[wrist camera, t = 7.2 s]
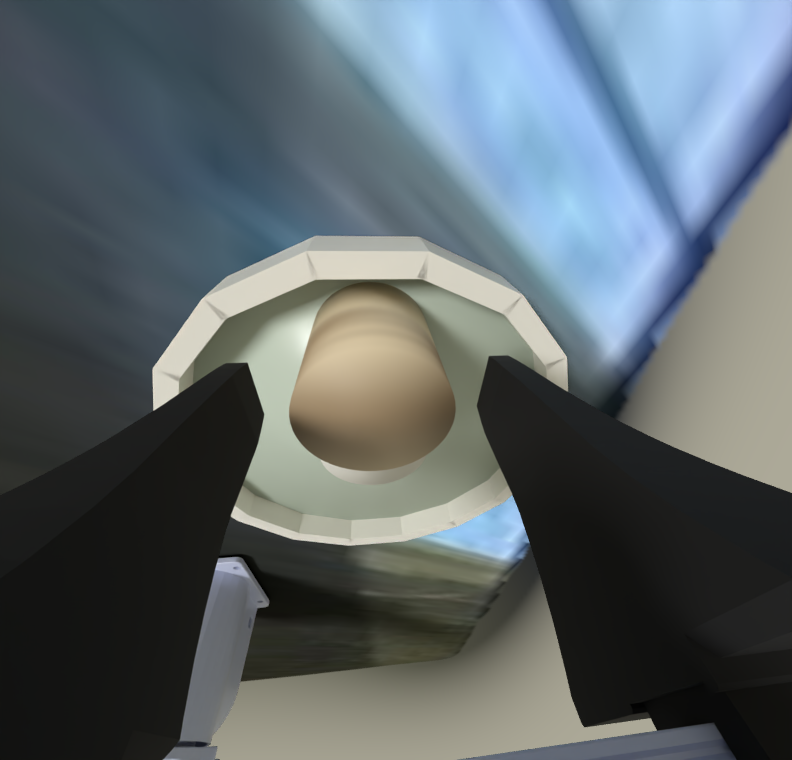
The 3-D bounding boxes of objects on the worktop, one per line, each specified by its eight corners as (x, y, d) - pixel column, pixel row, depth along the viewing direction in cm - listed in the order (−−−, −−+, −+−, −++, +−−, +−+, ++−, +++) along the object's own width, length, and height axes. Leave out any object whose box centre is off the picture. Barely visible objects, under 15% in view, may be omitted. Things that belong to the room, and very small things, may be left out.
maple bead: (422, 381, 13) (445, 466, 10) (320, 385, 13) (303, 475, 9) (432, 281, 10) (468, 346, 7) (304, 281, 10) (271, 351, 7)
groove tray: (499, 504, 21) (510, 532, 20) (243, 522, 20) (233, 554, 18) (610, 237, 11) (652, 251, 9) (86, 234, 9) (30, 250, 8)
